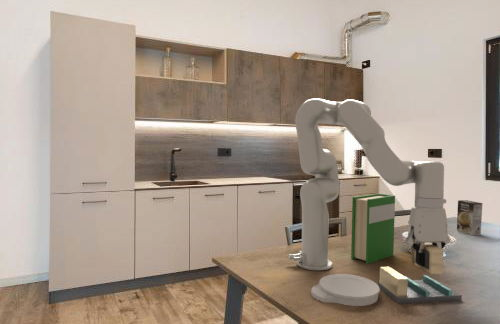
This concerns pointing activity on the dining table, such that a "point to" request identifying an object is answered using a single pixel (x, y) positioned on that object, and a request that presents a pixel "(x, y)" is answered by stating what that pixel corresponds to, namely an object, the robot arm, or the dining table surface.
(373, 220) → the hardback book
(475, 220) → the coffee box
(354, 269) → the dining table surface
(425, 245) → the light wooden block
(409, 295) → the rail
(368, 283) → the lid
